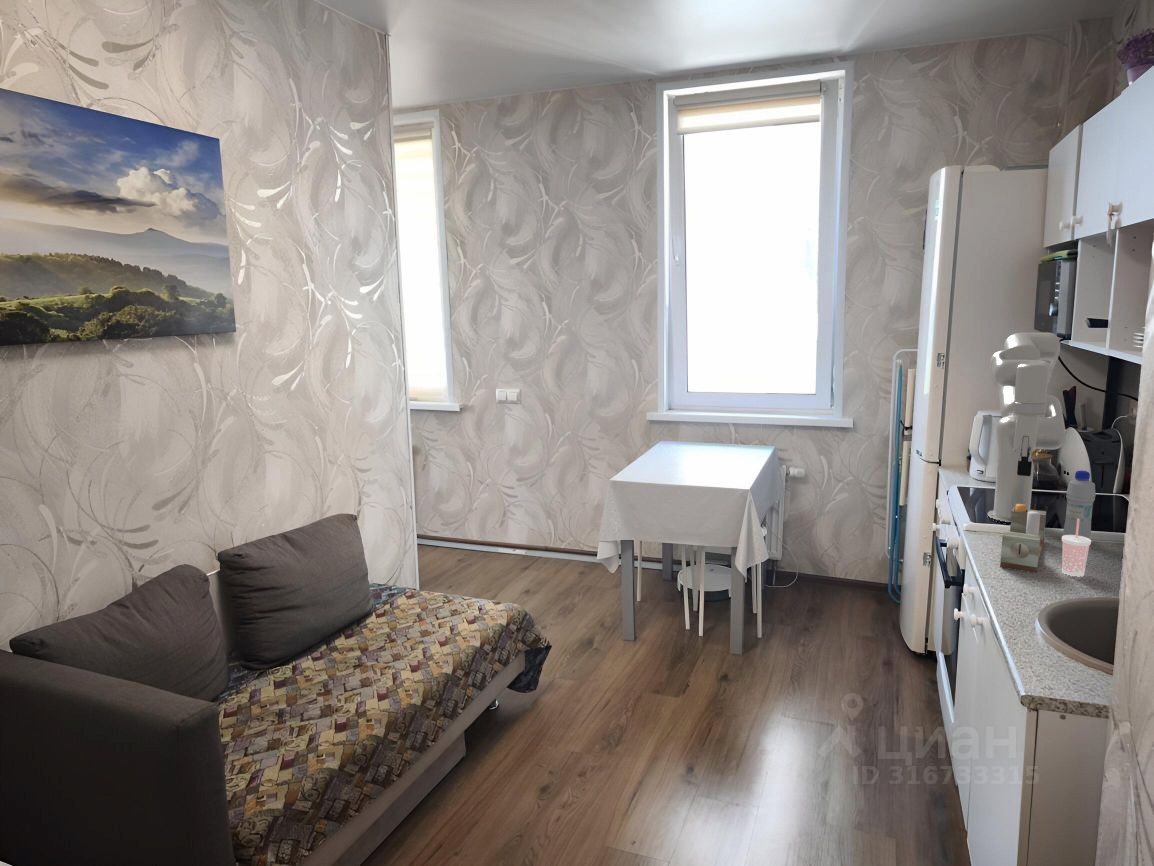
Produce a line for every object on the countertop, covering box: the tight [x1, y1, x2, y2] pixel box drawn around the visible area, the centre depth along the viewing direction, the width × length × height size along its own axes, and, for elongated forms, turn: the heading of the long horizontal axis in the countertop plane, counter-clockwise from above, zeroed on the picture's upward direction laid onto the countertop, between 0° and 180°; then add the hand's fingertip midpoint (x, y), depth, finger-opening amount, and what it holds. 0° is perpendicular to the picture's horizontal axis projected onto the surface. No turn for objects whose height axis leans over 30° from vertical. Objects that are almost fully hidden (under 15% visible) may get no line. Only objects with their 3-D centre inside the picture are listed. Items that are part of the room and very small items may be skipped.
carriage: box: [1026, 511, 1040, 535], centre depth 198 cm, size 5×7×10 cm
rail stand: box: [999, 508, 1047, 574], centre depth 204 cm, size 28×8×8 cm, turn 146°
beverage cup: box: [1061, 519, 1092, 578], centre depth 189 cm, size 6×6×14 cm
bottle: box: [1063, 470, 1097, 539], centre depth 211 cm, size 7×7×20 cm
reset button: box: [1015, 504, 1027, 512], centre depth 214 cm, size 3×3×4 cm
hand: (1023, 475), depth 212 cm, fingers closed
